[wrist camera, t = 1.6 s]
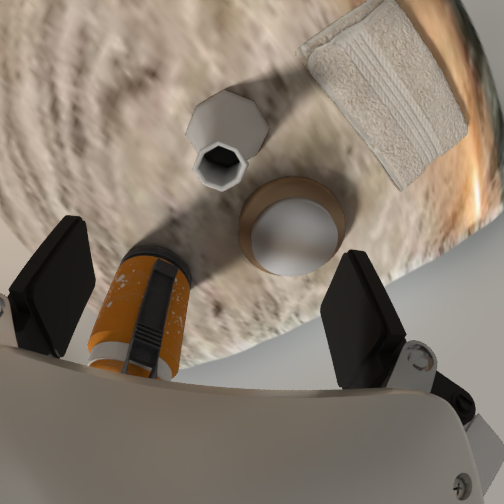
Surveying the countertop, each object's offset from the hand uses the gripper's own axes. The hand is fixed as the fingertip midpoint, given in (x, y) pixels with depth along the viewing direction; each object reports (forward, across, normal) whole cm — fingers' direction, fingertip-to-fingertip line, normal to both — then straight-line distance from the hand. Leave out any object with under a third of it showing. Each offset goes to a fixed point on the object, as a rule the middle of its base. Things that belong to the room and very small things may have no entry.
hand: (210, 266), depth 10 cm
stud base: (+19, -8, +8) cm, 22 cm away
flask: (+19, 0, 0) cm, 19 cm away
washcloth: (+20, -14, -8) cm, 26 cm away
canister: (+19, +6, +16) cm, 26 cm away
